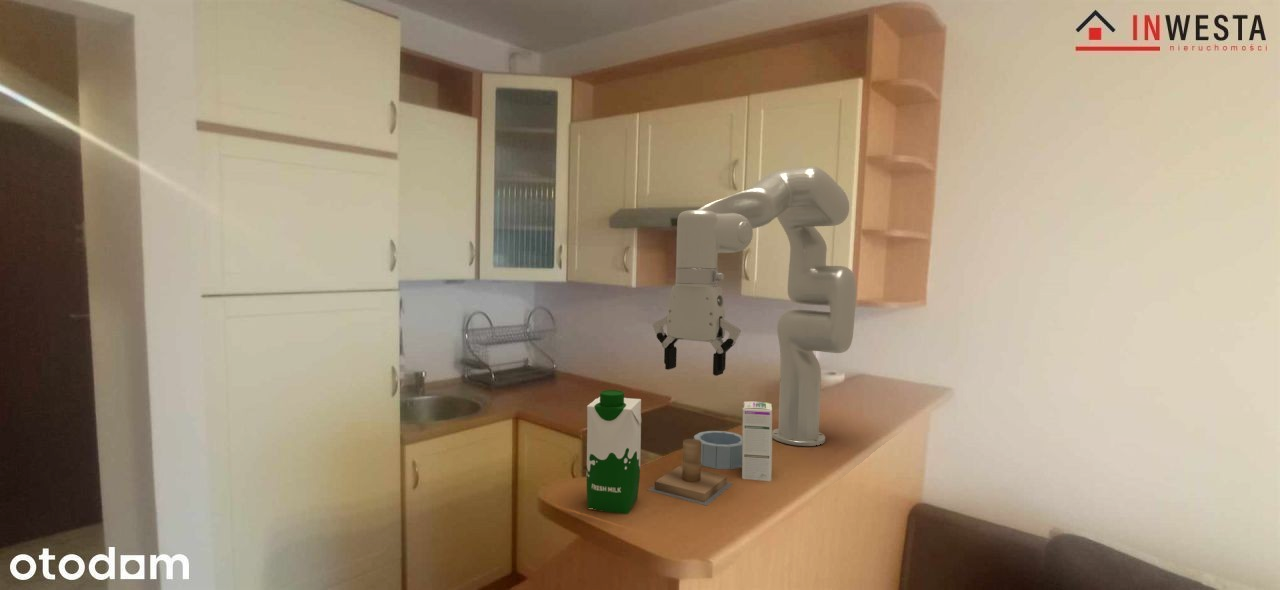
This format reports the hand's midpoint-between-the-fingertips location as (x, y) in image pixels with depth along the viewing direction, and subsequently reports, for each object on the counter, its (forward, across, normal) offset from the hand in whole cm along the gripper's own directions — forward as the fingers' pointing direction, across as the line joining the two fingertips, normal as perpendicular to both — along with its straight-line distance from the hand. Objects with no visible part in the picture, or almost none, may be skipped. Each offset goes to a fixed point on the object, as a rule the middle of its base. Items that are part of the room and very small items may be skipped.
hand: (693, 371), depth 103 cm
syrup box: (+22, -8, -13) cm, 27 cm away
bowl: (+22, +2, -17) cm, 28 cm away
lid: (+22, 0, 0) cm, 22 cm away
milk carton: (+22, +8, +14) cm, 27 cm away
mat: (+22, 0, 0) cm, 22 cm away
